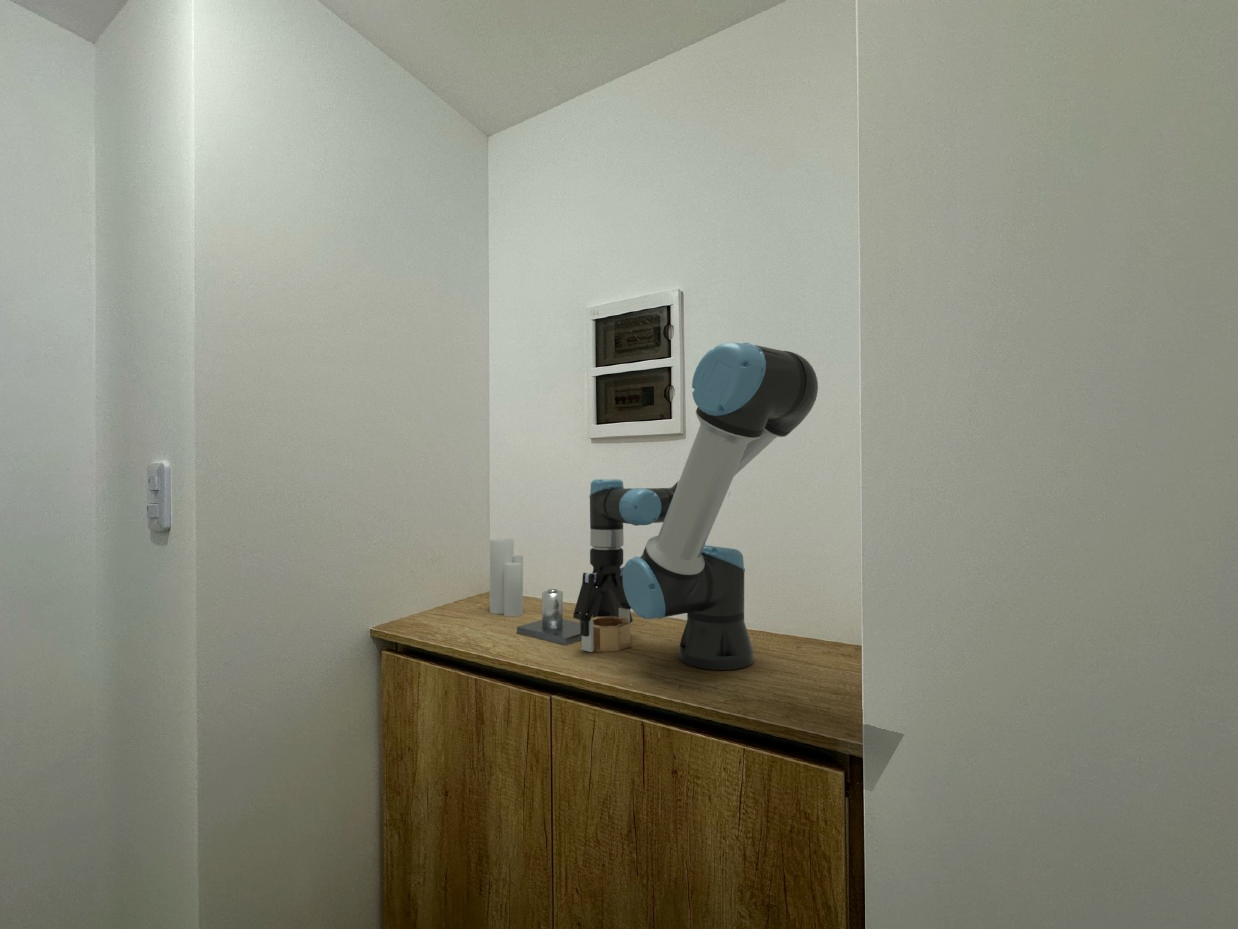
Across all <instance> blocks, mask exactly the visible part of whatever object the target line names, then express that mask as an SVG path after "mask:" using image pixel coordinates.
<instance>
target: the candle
mask: <svg viewBox="0 0 1238 929" xmlns="http://www.w3.org/2000/svg"><path fill="white" fill-rule="evenodd" d="M514 542H515V541H514V539H513V538H494V539H492V538H491V539H490V540H489V613H490V614H494V615H502V614H503V616H505V617H508V618H509V617H510V618H515V617H521V616H522V615H523V612H524V609H523V608H524V607H523V606H524V556H523V555H514V554H515V553H514V549H515V548H514V547H515V546H514V544H515V543H514Z"/></svg>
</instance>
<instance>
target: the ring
mask: <svg viewBox="0 0 1238 929" xmlns="http://www.w3.org/2000/svg"><path fill="white" fill-rule="evenodd" d="M591 620H592V621H593V651H596V652H600V653H601V652H619V651H623V650H624V649H627V648H629V647H631V622H629V620H628V619H625V618H620V617H615V616H605V617H594V618H591Z"/></svg>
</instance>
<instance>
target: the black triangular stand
mask: <svg viewBox="0 0 1238 929" xmlns="http://www.w3.org/2000/svg"><path fill="white" fill-rule="evenodd" d="M619 608H623V607H621V605H620V603H619V601H618V600H617V598H616V596H615V594H614V592H613V591H612V589H609V590H606V591H605V592H604V594H602V595H601V597H600V600H599V602H598V604H597V606H596V609H595V611H594V613H593V615H592V618H594V617H605V616H615V617H619ZM631 612H632V611H630V623H631V622H633V617H632V613H631Z"/></svg>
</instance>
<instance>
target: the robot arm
mask: <svg viewBox="0 0 1238 929" xmlns="http://www.w3.org/2000/svg"><path fill="white" fill-rule="evenodd" d="M691 388H692V389H693V391H692V392H691V395H692V397H693V401H694V403H695V406H697V408H696V410H695V415H696V418H697V420H698V421H699V423H700V424H699V427H698V429H697V433H696V435H695V438H694V441H693V443H692V446H691V448H690V451H689V453H688V456H687V459H686V462H685V465H684V467H683V469H682V473H681V475H680V478H679V479H678V481H677V482H676V483H674V485H673V486H672V487H657V488H654V487H652V488H651V487H650V488H649V487H647V488H646V487H645V488H644V487H643V488H641V487H639V488H638V487H637V488H635V487H634V488H631V487H629V488H628V487H627V488H625V487H624V482H623V480H622V479H615V478H611V479H607V478H602V479H600V478H599V479H597V478H596V479H593V480H592V481H591V482H590V490H589V492H590V493H589V495H588V496H589V497H588V498H589V524H590V525H589V528H590V532H589V534H590V541H589V542H590V543H589V545H590V546H591V547H592V548H590V549H589V564H590V565H591V566H592V567H593V568H592V572H590V573H589V572H583V574H582V582H581V587H580V591H579V594H578V596H577V601H576V605H575V607H574V612H573V616H572V618H573V619H576V620H579V621H580V622H579V623H580V630H581V631H580V634H581V636H582V640H581V650H582V651H586V652H589V653H592V652H594V650H593V621H592V620H591V618H592V616H593V613H594V611H595V609H596V606H597V604H598V602H599V600H600V597H601V595H602V594H604V592H605V591H606V590H609V589H612V591H613V592H614V594H615V596H616V598H617V600H618V601H619V603H620V605H621V607H623V608H619V617H620V618H625V619H628V620H629V622H630V612H631V610H632V611H633V612H634V613H635V615H637V616H638V617H640V618H642V619H645V620H652V619H658V620H661V619H664V618H667V617H673V616H679V615H683V614H686V615H687V616H686V617H687V618H686V623H685V626H684V628H683V632H682V636H681V638H680V641H679V644H678V657H679V660H680V661H682V662H683V663H684V664H687V665H689V666H692V667H694V668H700V669H704V670H705V669H706V670H712V671H713V670H715V671H732V670H739V669H743V668H746V667H749V666H750V665H752V664H753V663H754V647H753V644H752V642H751V639H750V636H749V632H748V629H747V626H746V624H745V622H746V621H745V572H746V569H745V567H744V566H745V564H744V555H743V553H742V552H741V551H740V550H739V549H737V548H736V549H735V548H730V547H724V546H723V547H722V546H713V545H706V543H707V540H708V538H709V535H710V534H711V531H712V529H713V526H714V524H715V522H716V519H717V517H718V515H719V512H720V510H721V507H722V505H723V503H724V500H725V498H726V496H727V493H728V491H729V489H730V486H731V484H732V482H733V479H734V477H735V476H736V475H737V474H739V472H740V471H742V469H744V468H745V467H746V466H747V465H748V464H749V463H750V462H752V461H753V459H755V458H756V457H757V456H758V455H759V454H760V453H761V452H762V451H763V450H765V449H766V447H768V446H769V445H770V444H772V442H773V441H774V440H775V439H777V438H785V437H787V436H788V435H789V434H790V433H791V432H793V431H794V429H796V428H797V427H798V426H799V425H801V423H802V422H803V421H804V420H805V418H806V417H807V416H808V415H809V414H810V413H811V411H812V409H813V407H814V405H815V403H816V400H817V397H818V393H819V392H818V391H819V381H818V377H817V375H816V371H815V369H814V368H813V366H812V364H811V362H809V361H808V359H806V358H804V356H802V355H800V354H799V353H796V352H793V351H788V350H781V349H776V348H771V347H765V346H762V345H758V344H752V343H750V342H734V341H729V342H722V343H720V344H718V345H716V346H714V347H713V348H711V349H709V350H708V351H707V352H706V353H705V354H704V355H703V356H702V358H701V359H700V360H699V362H698V364H697V366H696V368H695V369H694V373H693V376H692V382H691ZM660 523H662V525H661V527H660V529H659V532H658V534H657V535H656V536H652V537H650V538H649V539H648V540H647V541H646V544H645V546H644V550H643V552H642V554H641V556H640V557H639V556H634V557H631V558H630V559H628V560H627V561H626V563H625V564H624V549H623V548H622V547H623V546H624V542H625V540H624V539H625V538H624V524H627V525H628V524H629V525H633V526H635V527H636V526H648V525H651V524H660ZM623 564H624V565H623ZM630 623H631V622H630Z"/></svg>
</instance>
